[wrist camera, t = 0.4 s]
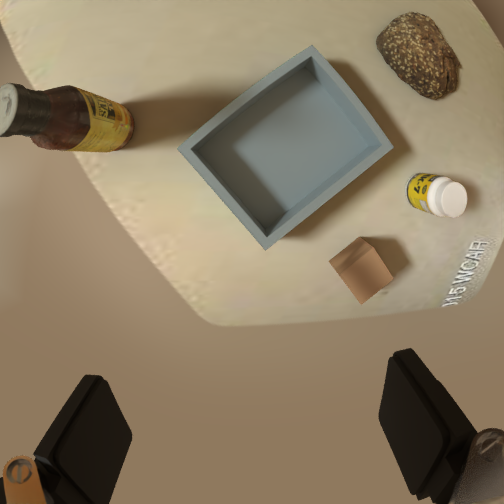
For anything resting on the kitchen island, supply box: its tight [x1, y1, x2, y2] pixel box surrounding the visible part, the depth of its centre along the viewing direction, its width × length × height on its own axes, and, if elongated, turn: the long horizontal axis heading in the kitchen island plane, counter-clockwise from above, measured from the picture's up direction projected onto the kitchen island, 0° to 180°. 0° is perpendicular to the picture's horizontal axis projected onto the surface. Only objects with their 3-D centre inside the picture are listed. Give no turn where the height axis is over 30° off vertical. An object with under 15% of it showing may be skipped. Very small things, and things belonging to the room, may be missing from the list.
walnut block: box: [329, 237, 394, 305], centre depth 36 cm, size 5×5×5 cm
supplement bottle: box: [405, 173, 467, 218], centre depth 31 cm, size 5×5×8 cm
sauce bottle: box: [0, 83, 134, 152], centre depth 23 cm, size 7×6×20 cm
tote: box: [177, 45, 394, 251], centre depth 31 cm, size 18×14×5 cm
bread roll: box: [376, 12, 460, 100], centre depth 28 cm, size 13×12×5 cm
